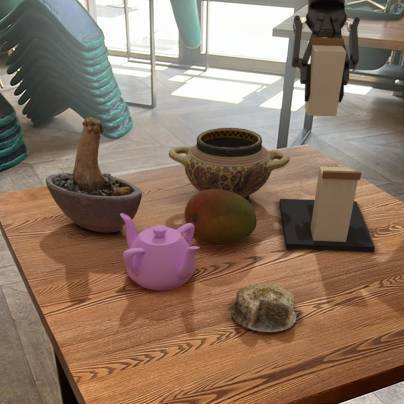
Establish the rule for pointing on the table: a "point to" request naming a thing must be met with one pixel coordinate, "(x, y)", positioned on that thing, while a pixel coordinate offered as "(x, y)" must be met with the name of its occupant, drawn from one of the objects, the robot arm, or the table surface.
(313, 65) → the cream rectangular block
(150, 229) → the teapot
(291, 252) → the table surface
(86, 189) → the planter
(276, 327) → the cake
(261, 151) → the ceramic bowl
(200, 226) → the fruit
